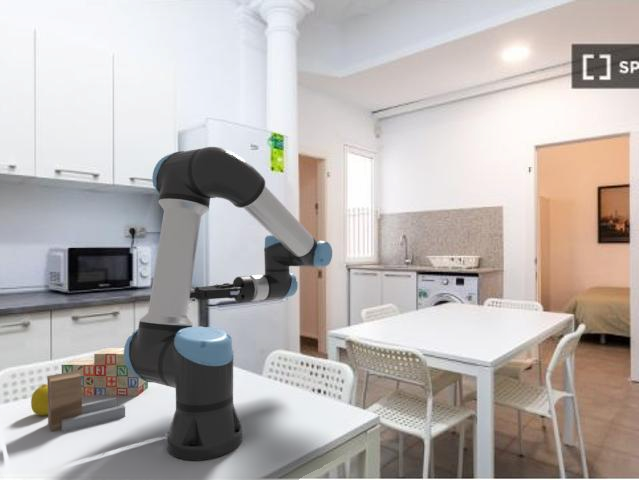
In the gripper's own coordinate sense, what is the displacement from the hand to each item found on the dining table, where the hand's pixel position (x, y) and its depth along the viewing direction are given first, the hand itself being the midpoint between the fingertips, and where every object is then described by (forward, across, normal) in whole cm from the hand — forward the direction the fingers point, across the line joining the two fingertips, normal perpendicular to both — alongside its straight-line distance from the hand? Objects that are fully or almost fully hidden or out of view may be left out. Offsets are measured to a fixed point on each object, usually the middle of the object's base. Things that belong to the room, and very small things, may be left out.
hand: (169, 296), depth 113 cm
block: (+24, +2, -27) cm, 36 cm away
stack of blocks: (+11, +19, -28) cm, 36 cm away
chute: (+18, +2, -28) cm, 34 cm away
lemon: (+26, +12, -28) cm, 40 cm away
